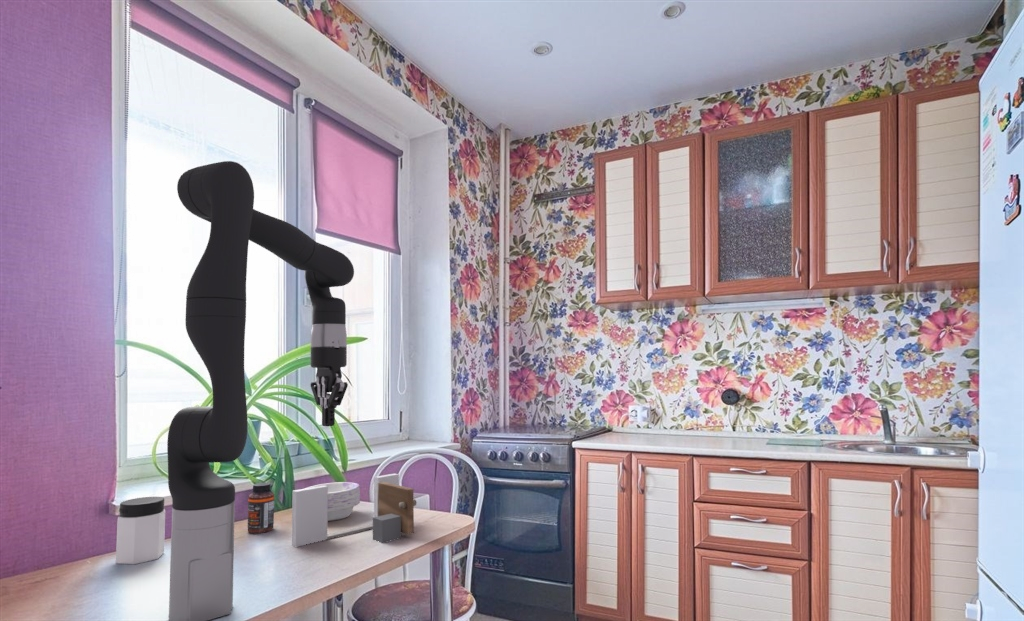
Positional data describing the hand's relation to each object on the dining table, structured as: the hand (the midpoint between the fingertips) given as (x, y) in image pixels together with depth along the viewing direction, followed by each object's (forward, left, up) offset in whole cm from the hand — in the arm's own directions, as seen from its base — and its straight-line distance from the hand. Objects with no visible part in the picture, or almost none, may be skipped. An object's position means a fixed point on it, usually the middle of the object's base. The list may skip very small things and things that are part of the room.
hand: (328, 425), depth 126 cm
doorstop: (+1, -15, -27) cm, 31 cm away
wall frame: (+12, -12, -27) cm, 32 cm away
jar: (+29, +28, -27) cm, 49 cm away
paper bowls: (+30, -16, -27) cm, 44 cm away
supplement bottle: (+31, +2, -27) cm, 41 cm away
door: (+4, -19, -26) cm, 32 cm away
